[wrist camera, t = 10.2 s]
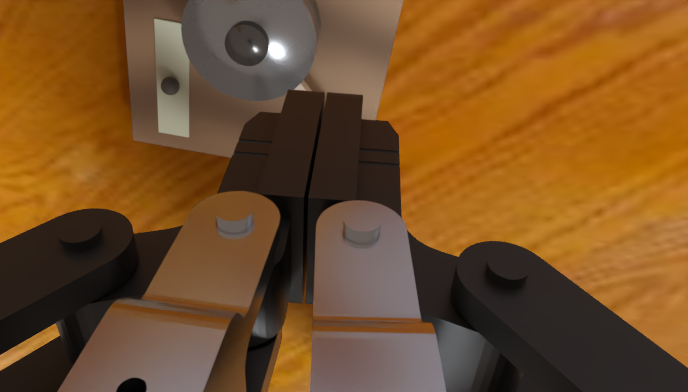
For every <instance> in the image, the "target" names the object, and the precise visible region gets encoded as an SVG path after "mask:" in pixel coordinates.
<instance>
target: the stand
mask: <svg viewBox="0 0 688 392" xmlns="http://www.w3.org/2000/svg"><path fill="white" fill-rule="evenodd" d="M187 2H188V0H123V7H124V21H125V35H126V49H127V62H128V76H129V90H130V104H131V117H132V131H133V141H139V142H144V143H150V144H156V145H161V146H167V147H173V148H178V149H184V150H190V151H195V152H201V153H207V154H212V155H218V156H224V157H229V158H231V157H232V155H234V150H235V147H236V145H237V142H239V137H240V135H241V132H242V129H243V127H244V124H245V123H246V122H248V121H249V120H250V119H252V118H253V117H254V116H255V115H257V114H258V113H259V112H272V113H281V111H282V107H283V104H284V101H285V98H286V95H284V96H281V97H279V98H276V99H272V100H267V101H248V100H242V99H238V98H235V97H232V96H229V95H227V94H225V93H223V92H221V91H219V90H218V89H216V88H215V87H213V86H212V85H210V84H209V83H208V82H207V81H206V80H205V79H204V78H203V77H202V76H201V75H200V74H199V73H198V72H197V71H196V69H195V68H194V66H193V65H192V63H191V62H190V60H189V58H188V56H187V53H186V51H185V48H184V45H183V40H182V33H181V23H182V16H183V12H184V9H185V6H186V4H187ZM316 3H317V6H318V9H319V14H320V21H321V29H320V37H319V41H318V45H317V49H316V53H315V56H314V60H313V64H312V66H311V69H310V71H309V73H308V74H307V76H306V77H305V79H304V81H305V83H306V84H307V85H308V86H309V88H310V89H311V90H312V91H317V92H325V102H326V96H327V92H332V93H345V94H359V95H363V105H362V119H366V120H376V116H377V112H378V107H379V103H380V99H381V95H382V90H383V86H384V82H385V77H386V73H387V69H388V65H389V60H390V56H391V52H392V47H393V43H394V39H395V35H396V30H397V26H398V22H399V17H400V13H401V9H402V5H403V0H316Z"/></svg>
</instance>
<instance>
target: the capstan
mask: <svg viewBox="0 0 688 392" xmlns="http://www.w3.org/2000/svg"><path fill="white" fill-rule="evenodd" d="M320 29H321V21H320V14H319V9H318V6H317V3H316V0H188V2H187V4H186V6H185V9H184V12H183V16H182V23H181V33H182V40H183V45H184V48H185V51H186V53H187V56H188V58H189V60H190V62H191V63H192V65H193V66H194V68H195V69H196V71H197V72H198V73H199V74H200V75H201V76H202V77H203V78H204V79H205V80H206V81H207V82H208V83H209V84H210V85H212V86H213V87H215V88H216V89H218V90H219V91H221V92H223V93H225V94H227V95H229V96H232V97H235V98H238V99H242V100H248V101H267V100H272V99H276V98H279V97H281V96H284V95H286V94H287V91H288V89H291V90H304V91H312V90H311V89H310V88H309V86H308V85H307V84H306V83H305V81H304V79H305V77H306V76H307V74H308V73H309V71H310V69H311V66H312V64H313V60H314V56H315V53H316V49H317V45H318V41H319V37H320Z"/></svg>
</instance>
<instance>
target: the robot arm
mask: <svg viewBox="0 0 688 392" xmlns="http://www.w3.org/2000/svg"><path fill="white" fill-rule="evenodd" d="M362 105H363V95H359V94H345V93H332V92H327V96H326V102H325V92H317V91H304V90H291V89H288V91H287V94H286V98H285V101H284V104H283V107H282V111H281V113H272V112H259V113H258V114H257V115H255V116H254V117H253V118H252V119H250V120H249V121H248V122H246V123H245V124H244V127H243V129H242V132H241V135H240V137H239V142H237V145H236V147H235V150H234V155H232V157H231V160H230V162H229V165H228V168H227V170H226V173H225V175H224V178H223V180H222V183H221V185H220V188H219V190H218V193H217V194H215V195H213V196H210V197H208V198H206V199H204V200H203V201H201V202H200V203H198V204H197V205H196V206H195V207H194V208H193V210H192V211H191V212H190V214H189V216H188V218H187V220H186V221H185V223H184V225H182V226H179V227H175V228H170V229H165V230H158V231H151V232H144V233H137V234H134V233H133V228H132V225H131V223H130V221H129V220H128V219H127V218H126V217H125V216H123V215H122V214H120V213H118V212H115V211H112V210H108V209H82V210H77V211H73V212H69V213H66V214H64V215H61V216H59V217H56V218H54V219H52V220H50V221H48V222H45V223H43V224H41V225H39V226H37V227H35V228H32V229H30V230H28V231H26V232H24V233H21V234H19V235H17V236H15V237H13V238H11V239H8V240H6V241H4V242H2V243H0V355H1V354H3V353H4V352H6V351H8V350H10V349H11V348H13V347H15V346H17V345H18V344H20V343H22V342H23V341H25V340H27V339H29V338H30V337H32V336H34V335H36V334H37V333H39V332H41V331H43V330H44V329H46V328H48V327H50V326H51V325H53V324H55V323H56V325H57V328H58V330H59V333H60V336H59V337H57V338H55V339H54V340H52V341H50V342H49V343H47V344H45V345H43V346H42V347H40V348H38V349H37V350H35V351H33V352H32V353H30V354H28V355H27V356H25V357H23V358H22V359H20V360H18V361H16V362H15V363H13V364H11V365H10V366H8V367H6V368H5V369H3V370H1V371H0V392H267V391H268V388H269V384H270V381H271V377H272V373H273V370H274V366H275V363H276V359H277V355H278V352H279V348H280V345H281V340H282V326H283V324H284V321H285V318H286V312H287V307H288V302H291V303H302V302H303V295H304V289H305V282H306V276H307V282H306V304H313V325H312V354H311V382H310V392H688V368H687V367H686V366H684V365H683V364H682V363H680V362H679V361H678V360H676V359H675V358H674V357H672V356H671V355H670V354H668V353H667V352H666V351H664V350H663V349H662V348H660V347H659V346H658V345H656V344H655V343H654V342H652V341H651V340H650V339H648V338H647V337H646V336H644V335H643V334H642V333H640V332H639V331H638V330H636V329H635V328H634V327H632V326H631V325H630V324H628V323H627V322H626V321H624V320H623V319H622V318H620V317H619V316H618V315H616V314H615V313H613V312H612V311H611V310H609V309H608V308H607V307H605V306H604V305H603V304H601V303H600V302H599V301H597V300H596V299H595V298H593V297H592V296H591V295H589V294H588V293H587V292H585V291H584V290H583V289H581V288H580V287H579V286H577V285H576V284H575V283H573V282H572V281H571V280H569V279H568V278H567V277H565V276H564V275H563V274H561V273H560V272H559V271H557V270H556V269H555V268H553V267H552V266H551V265H549V264H548V263H547V262H545V261H544V260H543V259H541V258H540V257H539V256H537V255H536V254H534V253H533V252H531V251H529V250H527V249H525V248H523V247H520V246H518V245H514V244H511V243H506V242H500V241H487V242H481V243H477V244H474V245H471V246H470V247H468V248H466V249H465V250H464V251H463V252H462V253H461V254H460V256H459V257H457V256H453V255H450V254H447V253H444V252H441V251H438V250H435V249H433V248H430V247H428V246H426V245H424V244H423V243H421V242H420V241H418V240H417V239H416V238H414V237H413V236H412V235H411V234H410V233H409V232H408V230H407V228H406V225H405V223H404V221H403V219H402V216H401V192H400V167H399V164H400V162H399V135H398V134H397V133H396V131H395V130H394V129H393V128H392V126H391V125H390V124H389V122H388V121H379V120H366V119H362Z"/></svg>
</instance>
